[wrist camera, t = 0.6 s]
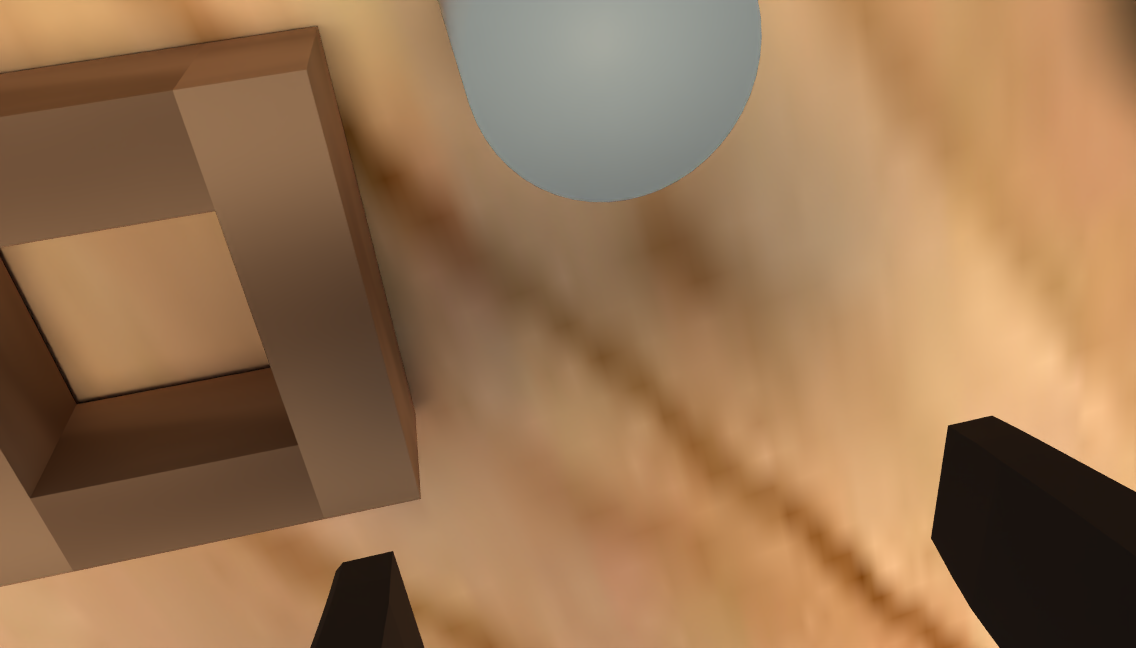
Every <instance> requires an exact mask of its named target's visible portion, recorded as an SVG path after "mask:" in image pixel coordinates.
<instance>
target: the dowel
mask: <svg viewBox="0 0 1136 648" xmlns="http://www.w3.org/2000/svg"><path fill="white" fill-rule="evenodd" d="M438 4H439V7H440V10H441V13H442V17H443V20H444V23H445V27H446V30H447V33H448V36H449V40H450V43H451V46H452V50H453V53H454V56H455V59H456V63H457V66H458V69H459V72H460V76H461V79H462V82H463V86H464V89H465V92H466V95H467V99H468V102H469V105H470V108H471V110H472V113H473V115H474V118H475V121H476V123H477V125H478V127H479V128H480V130H481V132H482V134H483V136H484V138H485V139H486V141H487V142H488V143H489V145H490V146H491V147H492V149H493V150H494V152H495V153H496V154H497V155H498V156H499V157H500V158H501V159H502V160H503V161H504V163H505V164H506V165H507V166H508V167H509V168H511V169H512V170H513V171H514V172H516V173H517V174H518V175H519V176H521V177H522V178H523V179H525V180H527V181H528V182H530V183H532V184H533V185H535V186H537V187H538V188H541V189H543V190H545V191H548V192H550V193H552V194H555V195H558V196H562V197H565V198H569V199H573V200H580V201H587V202H613V201H622V200H628V199H633V198H637V197H641V196H645V195H647V194H650V193H653V192H655V191H658V190H661V189H663V188H665V187H667V186H669V185H671V184H673V183H674V182H676V181H678V180H680V179H681V178H683V177H684V176H686V175H687V174H689V173H690V172H692V171H693V170H694V169H695V168H697V167H698V166H699V165H700V164H701V163H703V162H704V161H705V160H706V159H707V158H708V157H709V156H710V155H711V154H712V153H713V152H714V151H715V150H716V149H717V148H718V147H719V146H720V145H721V143H722V142H723V141H724V139H725V138H726V137H727V135H728V134H729V133H730V131H731V130H732V129H733V127H734V125H735V124H736V122H737V120H738V119H739V117H740V115H741V114H742V112H743V109H744V107H745V105H746V103H747V101H748V98H749V96H750V94H751V90H752V87H753V84H754V81H755V78H756V74H757V69H758V64H759V59H760V50H761V37H762V36H761V16H760V10H759V5H758V0H438Z"/></svg>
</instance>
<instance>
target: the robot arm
mask: <svg viewBox="0 0 1136 648" xmlns="http://www.w3.org/2000/svg"><path fill="white" fill-rule="evenodd" d="M931 539H932V541H933V543H934V544H935V546H936V548H937V550H938V552H939V554H940V555H941V557H942V559H943V561H944V563H945V565H946V566H947V568H948V570H949V572H950V574H951V575H952V577H953V579H954V581H955V582H956V584H957V586H958V587H959V589H960V591H961V593H962V594H963V596H964V598H965V599H966V601H967V603H968V604H969V606H970V608H971V609H972V611H973V612H974V613H975V615H976V616H977V618H978V619H979V620H980V622H981V623H982V625H983V626H984V627H985V629H986V630H987V631H988V633H989V634H990V635H991V637H992V638H993V639H994V641H995V642H996V644H997V645H998V646H999V648H1136V492H1135V491H1133V490H1131V489H1129V488H1127V487H1126V486H1124V485H1122V484H1120V483H1118V482H1116V481H1114V480H1112V479H1111V478H1109V477H1107V476H1105V475H1103V474H1101V473H1100V472H1098V471H1096V470H1094V469H1092V468H1090V467H1088V466H1087V465H1085V464H1083V463H1081V462H1079V461H1077V460H1075V459H1074V458H1072V457H1070V456H1068V455H1066V454H1064V453H1063V452H1061V451H1059V450H1057V449H1055V448H1053V447H1051V446H1050V445H1048V444H1046V443H1044V442H1042V441H1040V440H1039V439H1037V438H1035V437H1033V436H1031V435H1029V434H1027V433H1025V432H1023V431H1022V430H1020V429H1018V428H1016V427H1014V426H1012V425H1010V424H1008V423H1006V422H1004V421H1002V420H1000V419H998V418H996V417H994V416H988V417H984V418H979V419H975V420H971V421H966V422H962V423H957V424H953V425H948V429H947V436H946V443H945V449H944V456H943V462H942V469H941V476H940V482H939V489H938V496H937V502H936V509H935V515H934V522H933V529H932V535H931ZM310 648H424V645H423V642H422V639H421V636H420V633H419V630H418V627H417V624H416V620H415V617H414V614H413V611H412V608H411V605H410V602H409V599H408V596H407V593H406V590H405V586H404V583H403V580H402V577H401V574H400V571H399V568H398V565H397V562H396V559H395V556H394V552H393V551H392V552H387V553H383V554H378V555H374V556H369V557H365V558H361V559H356V560H352V561H347V562H343V563H342V564H341V566H340V567H339V568H338V569H337V571H336V573H335V576H334V579H333V583H332V586H331V590H330V593H329V596H328V599H327V602H326V605H325V608H324V611H323V614H322V617H321V620H320V623H319V626H318V628H317V631H316V634H315V637H314V639H313V642H312V645H311V647H310Z"/></svg>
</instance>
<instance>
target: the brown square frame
mask: <svg viewBox="0 0 1136 648" xmlns="http://www.w3.org/2000/svg"><path fill="white" fill-rule="evenodd" d="M212 211H215V212H216V214H217V217H218V220H219V223H220V226H221V228H222V231H223V234H224V237H225V240H226V243H227V245H228V248H229V251H230V254H231V257H232V260H233V262H234V265H235V268H236V271H237V274H238V276H239V279H240V282H241V285H242V288H243V291H244V293H245V296H246V299H247V302H248V305H249V307H250V310H251V313H252V316H253V319H254V322H255V324H256V327H257V330H258V333H259V336H260V339H261V341H262V344H263V347H264V350H265V353H266V355H267V358H268V361H269V364H270V367H271V368H267V369H261V370H256V371H251V372H246V373H240V374H235V375H230V376H225V377H219V378H214V379H209V380H203V381H198V382H193V383H188V384H182V385H177V386H172V387H167V388H161V389H156V390H151V391H145V392H140V393H135V394H130V395H124V396H119V397H114V398H109V399H103V400H98V401H93V402H87V403H82V404H77V405H76V403H75V401H74V399H73V397H72V395H71V393H70V391H69V389H68V387H67V385H66V383H65V382H64V380H63V378H62V376H61V374H60V372H59V370H58V368H57V366H56V364H55V362H54V360H53V358H52V356H51V354H50V353H49V351H48V349H47V347H46V345H45V343H44V341H43V339H42V337H41V335H40V333H39V331H38V329H37V327H36V325H35V324H34V322H33V320H32V318H31V316H30V314H29V312H28V310H27V308H26V306H25V304H24V302H23V300H22V298H21V297H20V295H19V293H18V291H17V289H16V287H15V285H14V283H13V281H12V279H11V277H10V275H9V273H8V271H7V269H6V268H5V266H4V264H3V262H2V260H1V258H0V587H2V586H7V585H11V584H16V583H21V582H26V581H30V580H35V579H40V578H45V577H50V576H54V575H59V574H64V573H69V572H73V571H78V570H83V569H88V568H93V567H97V566H102V565H107V564H112V563H117V562H121V561H126V560H131V559H136V558H140V557H145V556H150V555H155V554H160V553H164V552H169V551H174V550H179V549H183V548H188V547H193V546H198V545H203V544H207V543H212V542H217V541H222V540H227V539H231V538H236V537H241V536H246V535H250V534H255V533H260V532H265V531H270V530H274V529H279V528H284V527H289V526H293V525H298V524H303V523H308V522H313V521H317V520H322V519H327V518H332V517H337V516H341V515H346V514H351V513H356V512H360V511H365V510H370V509H375V508H380V507H384V506H389V505H394V504H399V503H403V502H408V501H413V500H418V499H421V495H420V479H419V464H418V448H417V433H416V417H415V410H414V406H413V402H412V398H411V394H410V390H409V386H408V382H407V378H406V375H405V371H404V367H403V363H402V359H401V355H400V351H399V347H398V343H397V339H396V335H395V331H394V327H393V323H392V319H391V315H390V311H389V307H388V303H387V299H386V295H385V291H384V288H383V284H382V280H381V276H380V272H379V268H378V264H377V260H376V256H375V252H374V248H373V244H372V240H371V236H370V232H369V228H368V224H367V220H366V216H365V212H364V208H363V204H362V200H361V197H360V193H359V189H358V185H357V181H356V177H355V173H354V169H353V165H352V161H351V157H350V153H349V149H348V145H347V141H346V137H345V133H344V129H343V125H342V121H341V117H340V113H339V110H338V106H337V102H336V98H335V94H334V90H333V86H332V82H331V78H330V74H329V70H328V66H327V62H326V58H325V54H324V50H323V46H322V42H321V38H320V34H319V30H318V26H316V27H310V28H303V29H296V30H290V31H283V32H276V33H270V34H263V35H256V36H250V37H243V38H236V39H230V40H223V41H216V42H209V43H203V44H196V45H189V46H183V47H176V48H169V49H163V50H156V51H149V52H143V53H136V54H129V55H123V56H116V57H109V58H103V59H96V60H89V61H83V62H76V63H69V64H63V65H56V66H49V67H42V68H36V69H29V70H22V71H16V72H9V73H2V74H0V247H6V246H12V245H18V244H24V243H30V242H35V241H41V240H47V239H53V238H59V237H65V236H71V235H77V234H83V233H88V232H94V231H100V230H106V229H112V228H118V227H124V226H130V225H136V224H141V223H147V222H153V221H159V220H165V219H171V218H177V217H183V216H189V215H194V214H200V213H206V212H212Z"/></svg>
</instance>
